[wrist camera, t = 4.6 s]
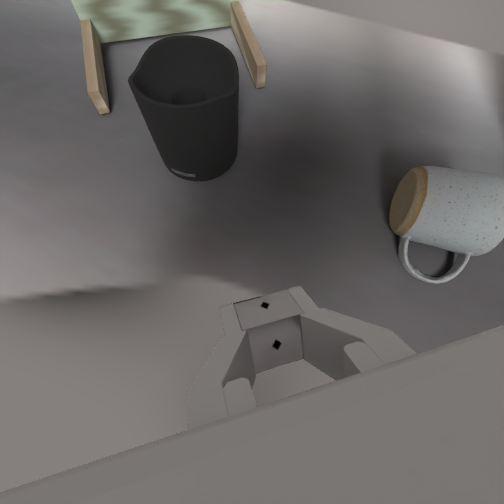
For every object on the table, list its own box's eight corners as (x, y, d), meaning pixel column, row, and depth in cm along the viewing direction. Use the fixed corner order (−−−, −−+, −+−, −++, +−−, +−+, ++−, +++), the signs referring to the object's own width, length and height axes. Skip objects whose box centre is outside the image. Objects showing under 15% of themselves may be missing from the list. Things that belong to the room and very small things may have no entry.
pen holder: (145, 145, 33) (108, 58, 24) (212, 113, 36) (201, 23, 26) (185, 200, 30) (160, 124, 21) (255, 161, 33) (260, 79, 24)
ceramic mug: (385, 191, 32) (424, 141, 25) (458, 206, 32) (519, 159, 25) (380, 276, 28) (424, 245, 21) (462, 295, 28) (537, 270, 21)
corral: (236, 19, 43) (236, -32, 37) (264, 86, 38) (269, 38, 32) (90, 38, 40) (66, -14, 34) (100, 114, 35) (73, 66, 29)
